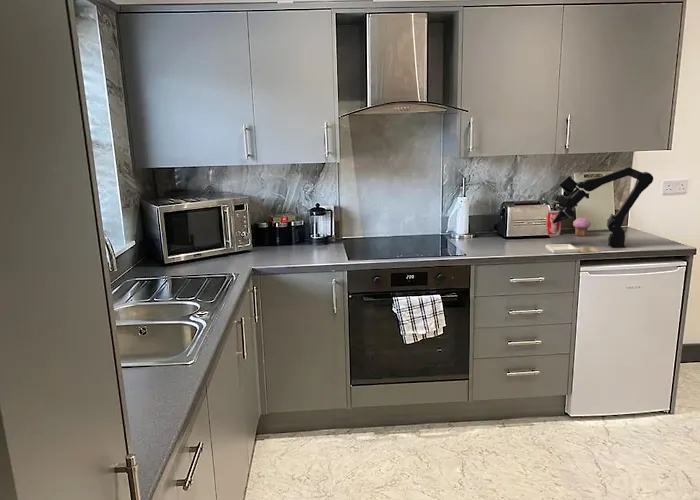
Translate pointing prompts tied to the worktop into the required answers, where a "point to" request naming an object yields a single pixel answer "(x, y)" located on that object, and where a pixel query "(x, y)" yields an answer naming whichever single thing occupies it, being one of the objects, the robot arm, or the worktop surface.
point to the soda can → (550, 227)
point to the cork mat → (588, 250)
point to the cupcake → (581, 226)
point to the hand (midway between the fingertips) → (550, 221)
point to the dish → (562, 248)
